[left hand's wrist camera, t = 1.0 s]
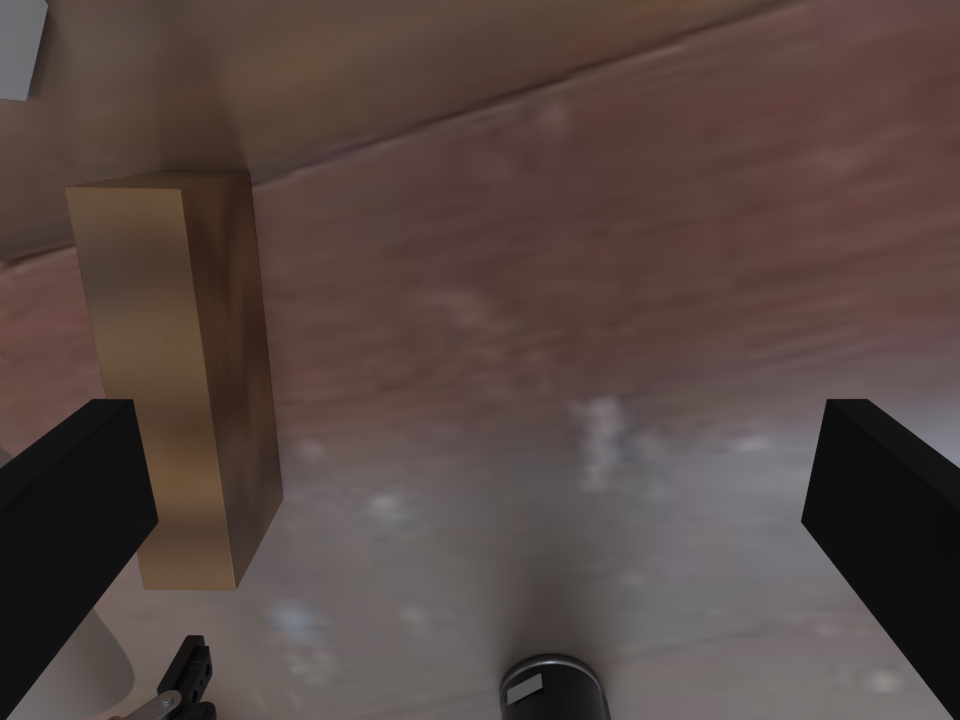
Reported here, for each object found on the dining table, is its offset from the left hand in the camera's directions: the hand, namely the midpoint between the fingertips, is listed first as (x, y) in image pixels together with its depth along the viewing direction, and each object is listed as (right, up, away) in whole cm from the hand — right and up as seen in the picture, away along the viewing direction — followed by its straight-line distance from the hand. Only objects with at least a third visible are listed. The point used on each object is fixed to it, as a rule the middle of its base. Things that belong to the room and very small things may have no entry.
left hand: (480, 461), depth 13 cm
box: (-19, +3, +36) cm, 41 cm away
